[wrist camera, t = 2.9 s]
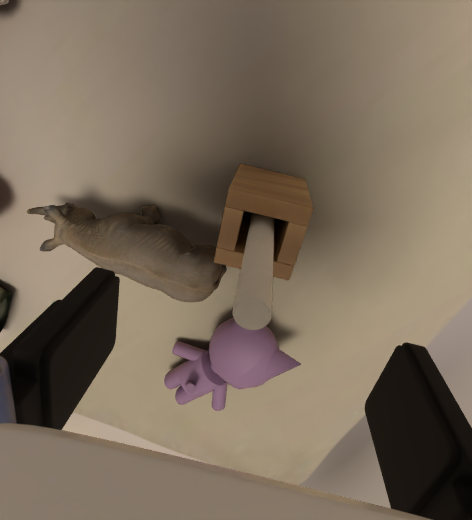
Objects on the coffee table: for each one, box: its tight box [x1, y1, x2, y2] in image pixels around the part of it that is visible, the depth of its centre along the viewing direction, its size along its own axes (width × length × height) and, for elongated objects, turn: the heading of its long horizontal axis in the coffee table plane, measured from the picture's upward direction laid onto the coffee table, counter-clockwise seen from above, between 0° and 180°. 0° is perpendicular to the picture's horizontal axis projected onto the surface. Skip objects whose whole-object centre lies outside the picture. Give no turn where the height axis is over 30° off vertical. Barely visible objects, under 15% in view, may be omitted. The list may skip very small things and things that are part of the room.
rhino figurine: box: [27, 203, 226, 302], centre depth 23 cm, size 4×14×6 cm, turn 71°
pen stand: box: [214, 164, 313, 280], centre depth 21 cm, size 4×4×6 cm
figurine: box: [164, 318, 301, 411], centre depth 28 cm, size 5×7×12 cm
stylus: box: [233, 213, 274, 330], centre depth 18 cm, size 1×1×13 cm
